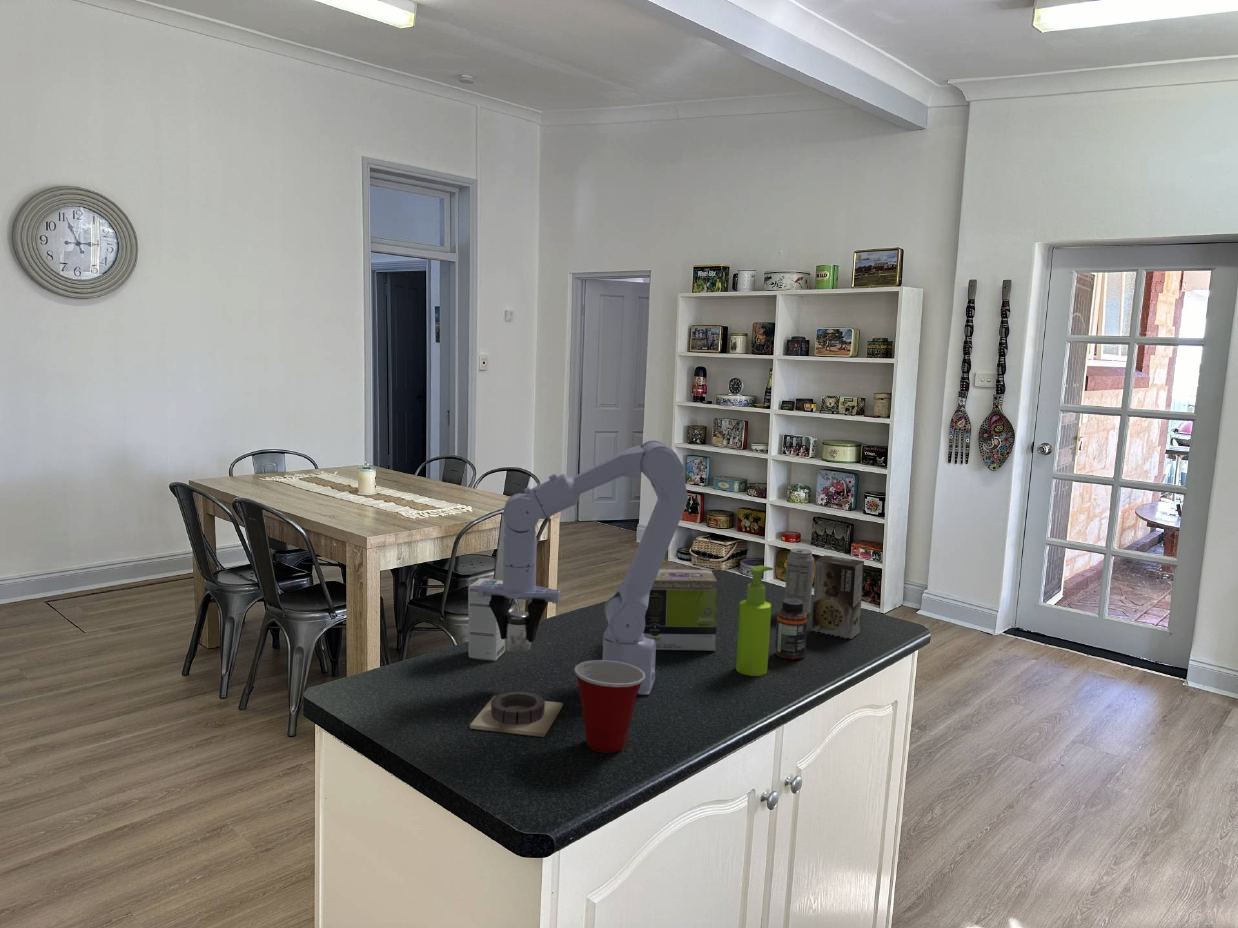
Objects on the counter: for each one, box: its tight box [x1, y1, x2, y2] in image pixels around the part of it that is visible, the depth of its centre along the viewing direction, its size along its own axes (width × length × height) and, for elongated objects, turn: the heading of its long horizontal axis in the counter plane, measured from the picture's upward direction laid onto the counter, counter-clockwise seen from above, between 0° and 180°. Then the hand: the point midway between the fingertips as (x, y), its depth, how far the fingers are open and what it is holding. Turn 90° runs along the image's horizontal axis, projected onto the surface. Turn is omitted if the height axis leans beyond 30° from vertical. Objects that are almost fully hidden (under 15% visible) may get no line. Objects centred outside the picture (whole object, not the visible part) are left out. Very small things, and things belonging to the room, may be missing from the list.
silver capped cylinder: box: [505, 610, 532, 653], centre depth 155 cm, size 4×4×6 cm
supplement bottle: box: [774, 598, 808, 661], centre depth 176 cm, size 6×6×11 cm
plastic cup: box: [574, 659, 645, 754], centre depth 134 cm, size 11×11×12 cm
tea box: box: [643, 568, 719, 652], centre depth 180 cm, size 15×10×15 cm, turn 92°
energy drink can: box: [784, 548, 815, 616], centre depth 204 cm, size 6×6×15 cm
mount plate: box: [469, 690, 563, 738], centre depth 143 cm, size 12×12×3 cm
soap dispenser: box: [735, 565, 774, 677], centre depth 167 cm, size 6×7×20 cm
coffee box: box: [811, 554, 865, 640], centre depth 191 cm, size 9×6×16 cm
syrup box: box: [467, 577, 507, 662], centre depth 170 cm, size 6×6×14 cm
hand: (518, 638), depth 155 cm, fingers closed on silver capped cylinder, 4 cm apart
